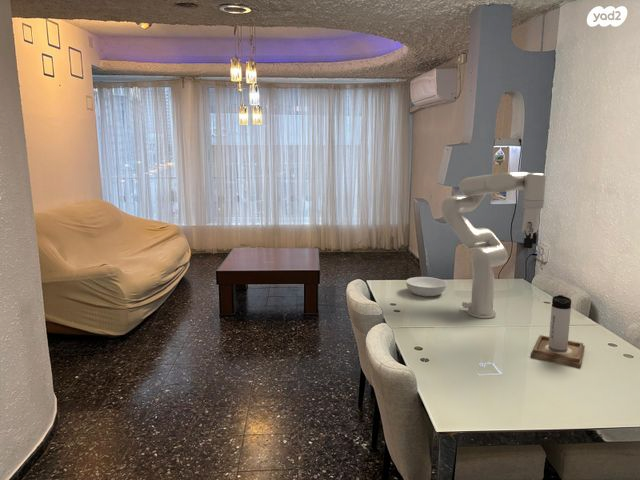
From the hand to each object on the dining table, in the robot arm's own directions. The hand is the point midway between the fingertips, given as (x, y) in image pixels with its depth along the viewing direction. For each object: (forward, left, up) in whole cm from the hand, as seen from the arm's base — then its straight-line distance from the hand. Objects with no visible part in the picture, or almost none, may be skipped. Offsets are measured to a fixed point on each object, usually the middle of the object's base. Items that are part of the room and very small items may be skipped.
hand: (530, 245), depth 188 cm
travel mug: (+15, -18, -35) cm, 42 cm away
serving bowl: (-53, +26, -37) cm, 70 cm away
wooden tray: (+15, -18, -36) cm, 43 cm away
